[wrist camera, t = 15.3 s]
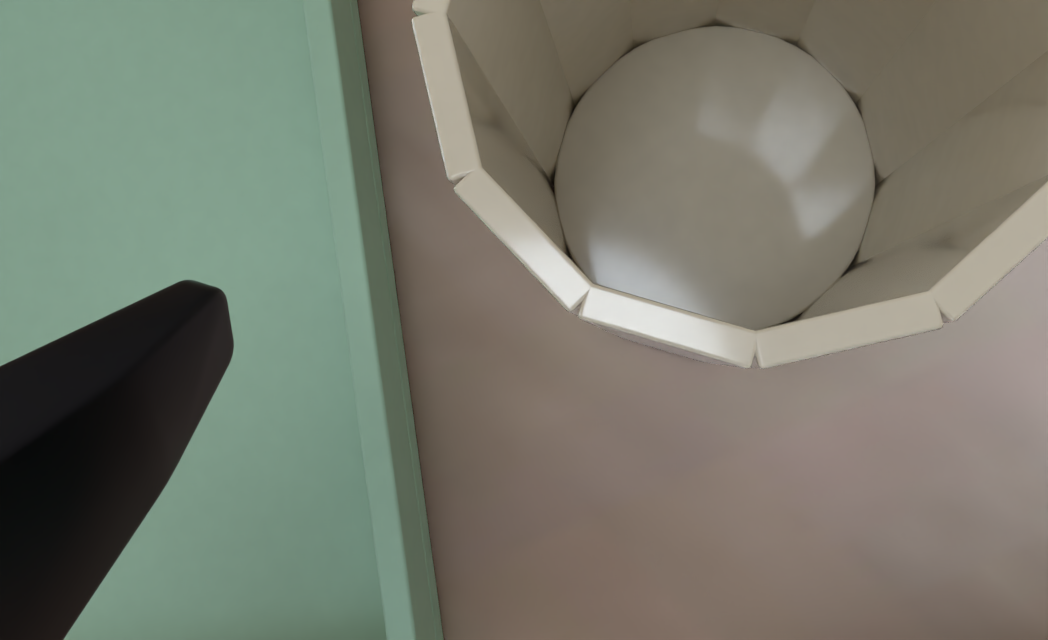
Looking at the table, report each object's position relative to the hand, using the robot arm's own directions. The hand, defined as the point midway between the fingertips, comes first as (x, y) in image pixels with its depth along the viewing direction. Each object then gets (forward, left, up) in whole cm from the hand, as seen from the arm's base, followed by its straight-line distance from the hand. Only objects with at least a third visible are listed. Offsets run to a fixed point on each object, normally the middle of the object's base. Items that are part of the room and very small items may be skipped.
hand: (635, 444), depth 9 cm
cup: (+2, -4, -11) cm, 12 cm away
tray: (+11, +6, -11) cm, 17 cm away
